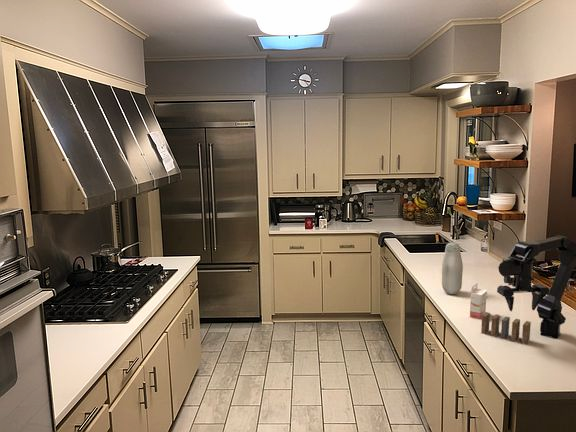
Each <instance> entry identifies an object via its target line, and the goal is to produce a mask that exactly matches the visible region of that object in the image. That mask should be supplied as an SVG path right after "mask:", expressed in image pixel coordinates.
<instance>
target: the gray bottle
mask: <svg viewBox="0 0 576 432" xmlns="http://www.w3.org/2000/svg"><path fill="white" fill-rule="evenodd" d="M461 252H462V251H461V246H460V244H459V243H457V242H456V241H455V242H453V241H450V242H448V243H447V244H446V245H445V249H444V255H443V260H442V265H441V287H442V289H443V291H444V292H445V293H446V294H448V295H456V294H459V292H461V291H460V290H461V289H462V287H463V286H462V285H463V273H464V272H463V269H464V265H463V258H462V253H461Z"/></svg>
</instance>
